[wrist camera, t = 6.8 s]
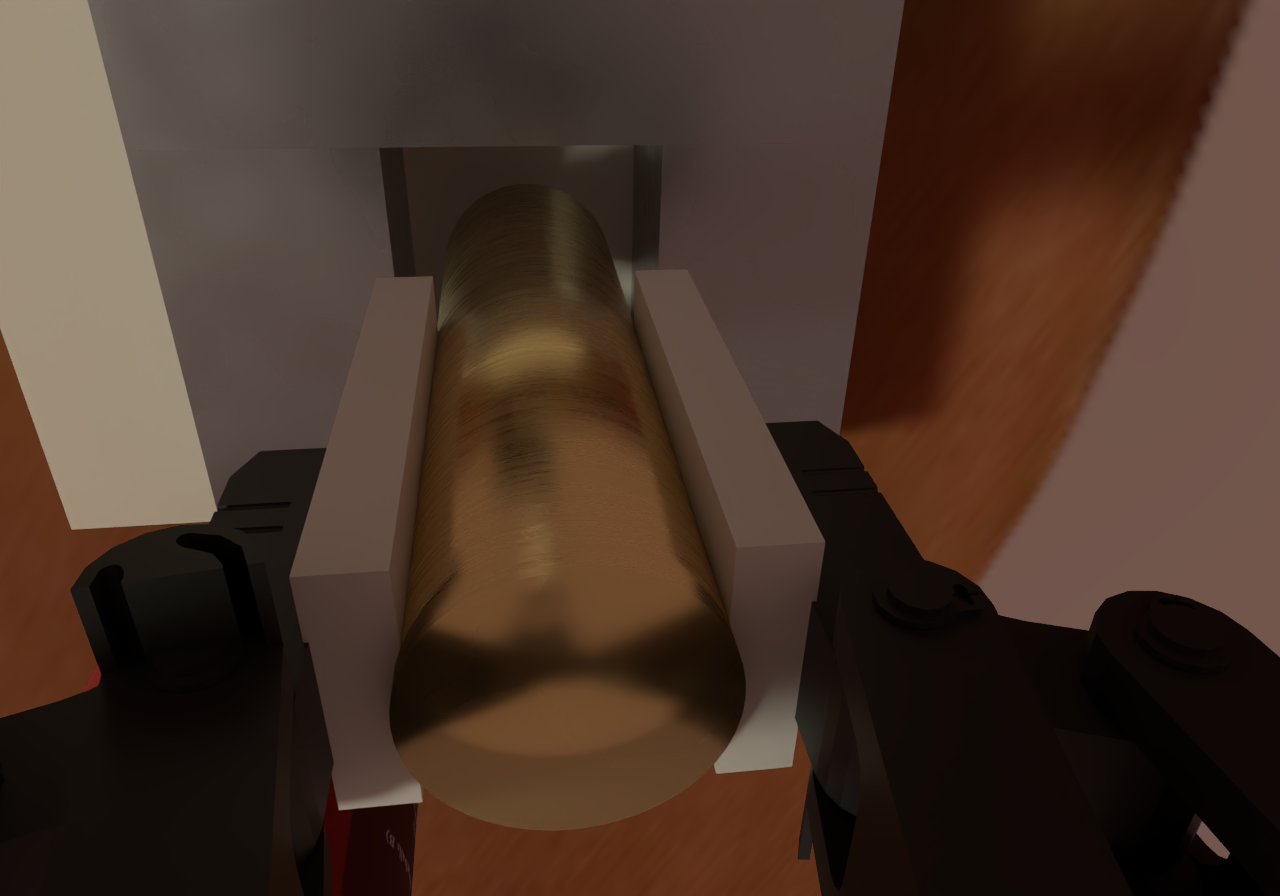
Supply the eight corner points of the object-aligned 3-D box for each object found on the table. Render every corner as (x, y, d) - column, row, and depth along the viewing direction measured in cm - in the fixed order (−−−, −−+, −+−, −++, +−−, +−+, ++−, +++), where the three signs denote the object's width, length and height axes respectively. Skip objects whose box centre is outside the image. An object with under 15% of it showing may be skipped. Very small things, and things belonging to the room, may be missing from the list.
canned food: (41, 648, 24) (-254, 1153, 14) (295, 493, 22) (155, 936, 13) (257, 806, 27) (137, 1284, 18) (485, 681, 26) (482, 1127, 17)
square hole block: (136, -138, 15) (51, -141, 12) (847, -119, 17) (922, -119, 14) (269, 481, 22) (234, 578, 19) (780, 454, 23) (823, 539, 20)
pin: (439, 184, 16) (368, 583, 7) (611, 183, 17) (761, 560, 7) (451, 342, 18) (408, 845, 9) (609, 338, 18) (732, 813, 9)
